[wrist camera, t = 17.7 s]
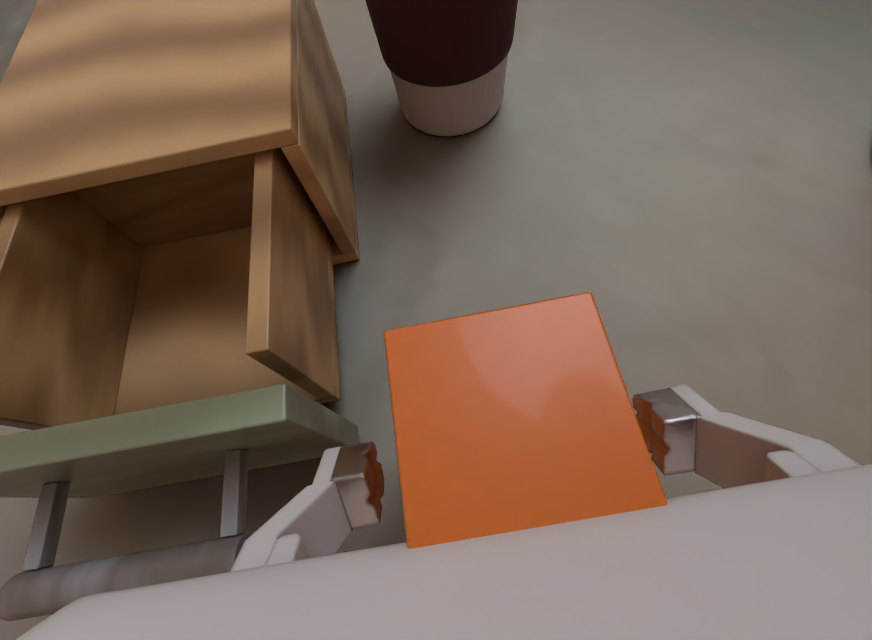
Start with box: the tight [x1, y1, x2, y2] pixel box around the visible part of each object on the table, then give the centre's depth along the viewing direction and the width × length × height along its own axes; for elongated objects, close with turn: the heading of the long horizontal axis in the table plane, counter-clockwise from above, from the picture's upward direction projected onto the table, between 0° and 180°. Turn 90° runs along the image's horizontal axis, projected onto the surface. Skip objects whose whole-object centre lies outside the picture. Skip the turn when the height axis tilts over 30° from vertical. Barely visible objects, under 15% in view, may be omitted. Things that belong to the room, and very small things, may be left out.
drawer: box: [0, 147, 359, 621], centre depth 18 cm, size 19×13×8 cm
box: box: [384, 292, 667, 549], centre depth 14 cm, size 5×5×12 cm
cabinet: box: [0, 0, 359, 265], centre depth 24 cm, size 16×15×10 cm
